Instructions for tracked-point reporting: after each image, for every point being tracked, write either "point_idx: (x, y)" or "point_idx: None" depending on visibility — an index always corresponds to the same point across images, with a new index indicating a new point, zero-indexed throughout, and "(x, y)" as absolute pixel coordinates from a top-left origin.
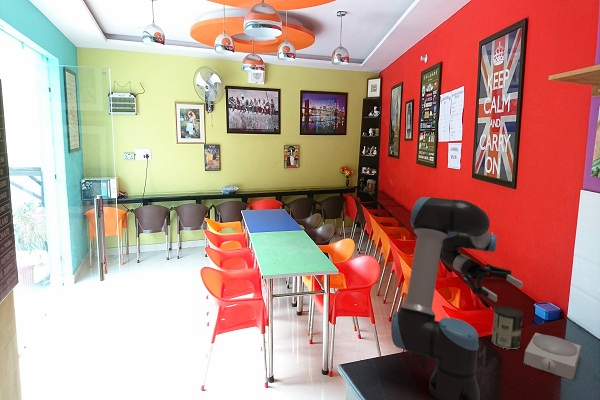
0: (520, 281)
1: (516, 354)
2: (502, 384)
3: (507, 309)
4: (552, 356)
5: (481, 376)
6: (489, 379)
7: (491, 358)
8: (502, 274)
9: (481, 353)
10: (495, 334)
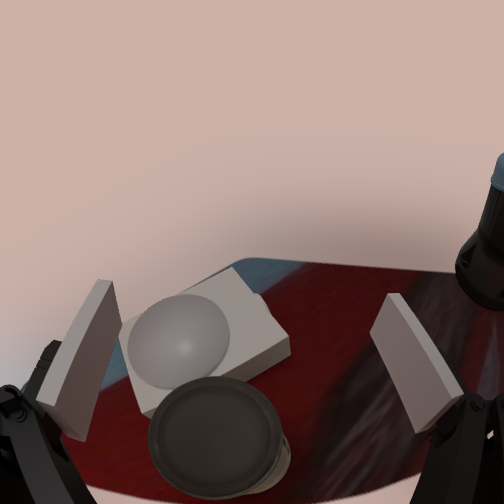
0: (93, 292)
1: (269, 397)
2: (400, 292)
3: (193, 455)
4: (236, 304)
5: (430, 317)
6: (418, 307)
7: (363, 387)
8: (61, 467)
9: (376, 414)
10: (287, 456)
